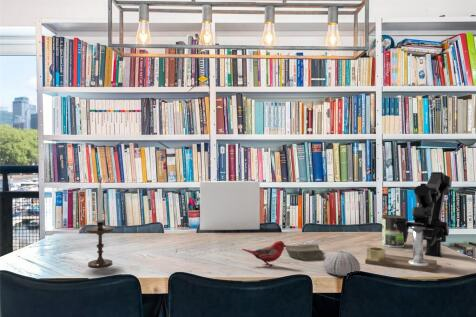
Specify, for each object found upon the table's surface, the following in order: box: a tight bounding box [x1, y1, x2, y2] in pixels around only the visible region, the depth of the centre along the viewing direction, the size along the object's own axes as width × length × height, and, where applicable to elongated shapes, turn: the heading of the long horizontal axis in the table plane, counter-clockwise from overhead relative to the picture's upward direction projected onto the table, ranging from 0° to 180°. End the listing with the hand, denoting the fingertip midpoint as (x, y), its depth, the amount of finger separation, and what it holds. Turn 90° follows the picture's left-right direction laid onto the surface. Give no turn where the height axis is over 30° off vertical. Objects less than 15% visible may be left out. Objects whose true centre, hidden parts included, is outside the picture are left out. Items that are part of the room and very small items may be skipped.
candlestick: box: [85, 176, 116, 269], centre depth 154 cm, size 11×11×35 cm
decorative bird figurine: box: [241, 240, 288, 267], centre depth 153 cm, size 3×18×10 cm, turn 81°
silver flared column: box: [409, 226, 425, 263], centre depth 150 cm, size 5×5×14 cm
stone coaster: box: [408, 260, 428, 266], centre depth 150 cm, size 7×7×1 cm
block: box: [199, 180, 261, 231], centre depth 231 cm, size 35×8×28 cm, turn 96°
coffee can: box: [381, 214, 406, 249], centre depth 188 cm, size 10×10×14 cm
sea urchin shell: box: [322, 250, 361, 277], centre depth 143 cm, size 13×14×8 cm
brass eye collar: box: [366, 246, 386, 261], centre depth 157 cm, size 7×7×4 cm
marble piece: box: [285, 243, 323, 261], centre depth 168 cm, size 17×15×4 cm
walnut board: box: [364, 253, 438, 273], centre depth 155 cm, size 13×25×2 cm, turn 60°
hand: (417, 243), depth 149 cm, fingers open, 9 cm apart
